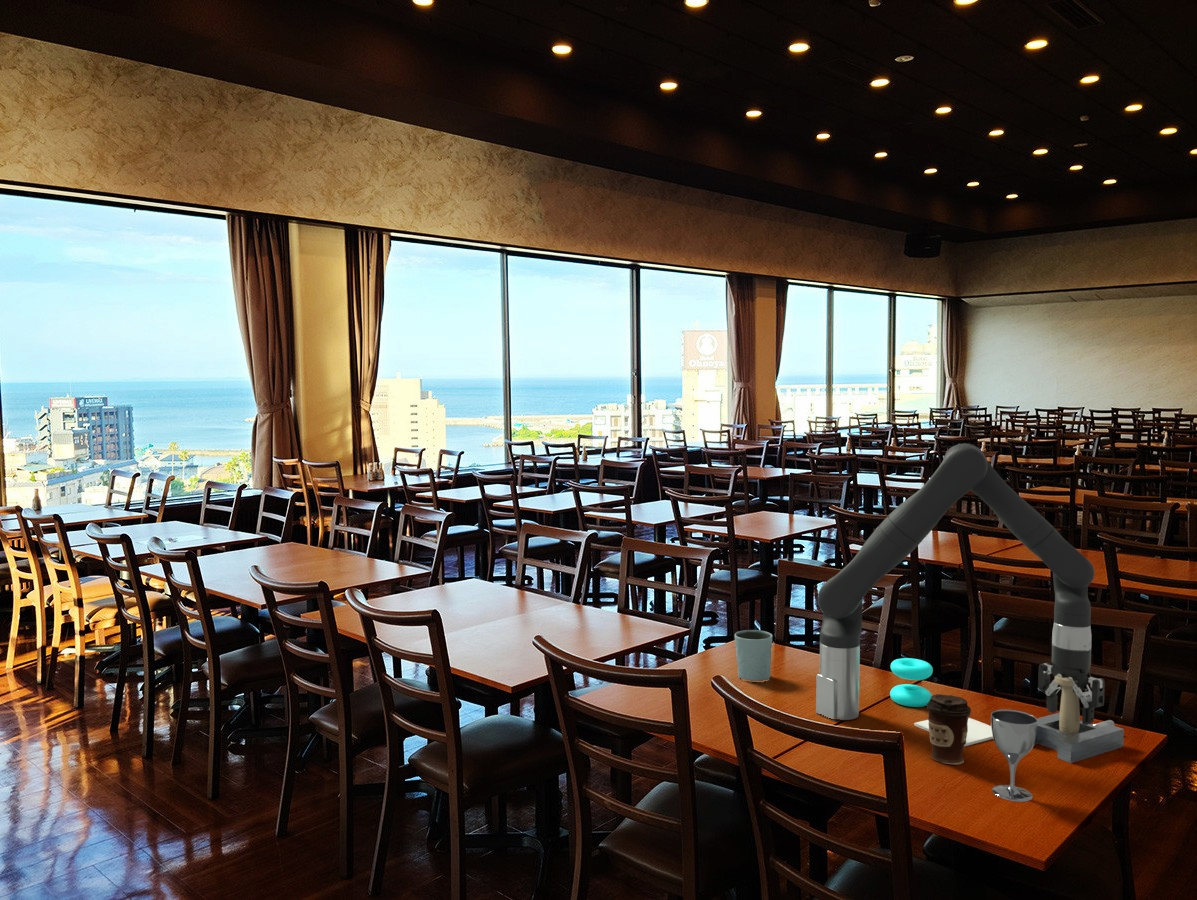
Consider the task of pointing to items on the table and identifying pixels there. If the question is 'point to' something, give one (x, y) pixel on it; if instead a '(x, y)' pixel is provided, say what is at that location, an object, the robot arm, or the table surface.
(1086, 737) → the vise
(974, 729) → the mat
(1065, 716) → the handle
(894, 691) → the donuts
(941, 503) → the robot arm
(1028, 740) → the wine glass
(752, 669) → the grey-green tapered cup
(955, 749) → the coffee cup
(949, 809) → the table surface
